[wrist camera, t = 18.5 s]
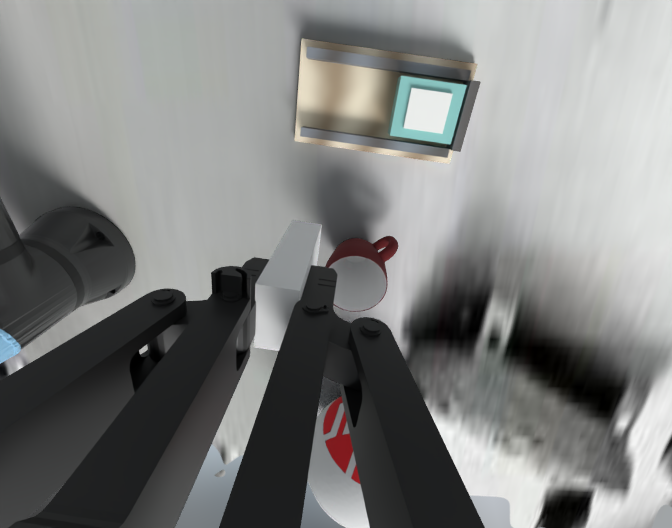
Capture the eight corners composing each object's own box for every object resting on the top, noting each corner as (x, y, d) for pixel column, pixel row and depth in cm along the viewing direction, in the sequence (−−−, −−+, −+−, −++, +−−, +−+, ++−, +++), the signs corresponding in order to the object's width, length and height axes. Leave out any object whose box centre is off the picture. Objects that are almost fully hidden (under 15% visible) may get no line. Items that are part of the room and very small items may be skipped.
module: (387, 132, 41) (390, 135, 37) (398, 77, 38) (401, 75, 34) (443, 141, 41) (451, 144, 37) (457, 86, 38) (467, 85, 34)
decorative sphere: (433, 382, 60) (463, 502, 42) (396, 448, 69) (407, 570, 51) (328, 355, 59) (312, 466, 41) (304, 426, 68) (283, 542, 50)
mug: (370, 203, 46) (372, 228, 37) (407, 242, 48) (417, 275, 39) (318, 250, 50) (308, 282, 41) (354, 284, 52) (353, 322, 43)
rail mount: (295, 140, 43) (289, 143, 39) (303, 39, 38) (296, 33, 34) (447, 162, 43) (455, 168, 39) (474, 64, 38) (486, 61, 34)
